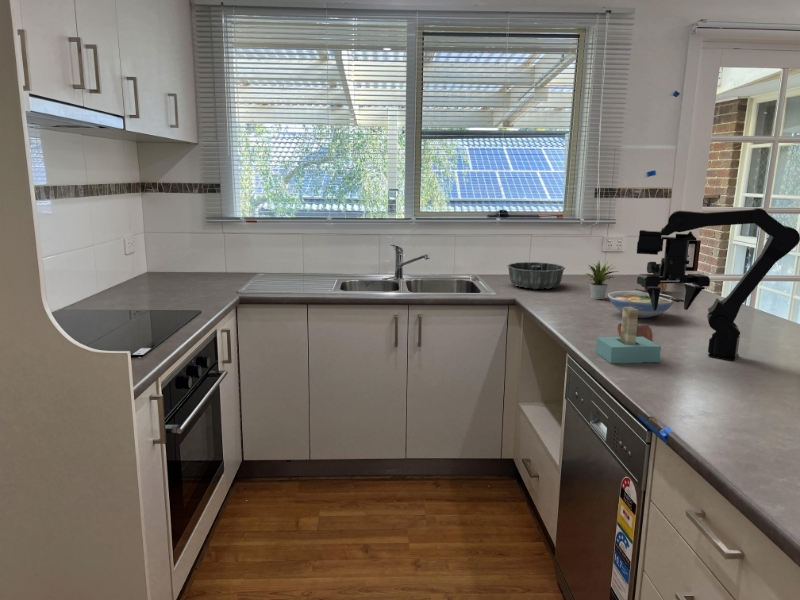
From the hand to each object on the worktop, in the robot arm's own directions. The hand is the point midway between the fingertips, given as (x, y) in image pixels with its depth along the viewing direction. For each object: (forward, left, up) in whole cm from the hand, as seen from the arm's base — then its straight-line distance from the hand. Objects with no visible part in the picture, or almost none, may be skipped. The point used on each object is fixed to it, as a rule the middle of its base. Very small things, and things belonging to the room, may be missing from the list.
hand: (670, 309), depth 161 cm
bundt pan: (+79, -68, -12) cm, 105 cm away
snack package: (+30, -85, -12) cm, 91 cm away
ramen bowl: (+21, -39, -12) cm, 46 cm away
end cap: (+6, +15, -12) cm, 20 cm away
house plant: (+45, -59, -12) cm, 75 cm away
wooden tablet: (+13, -11, -13) cm, 21 cm away
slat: (+6, +15, -12) cm, 20 cm away
